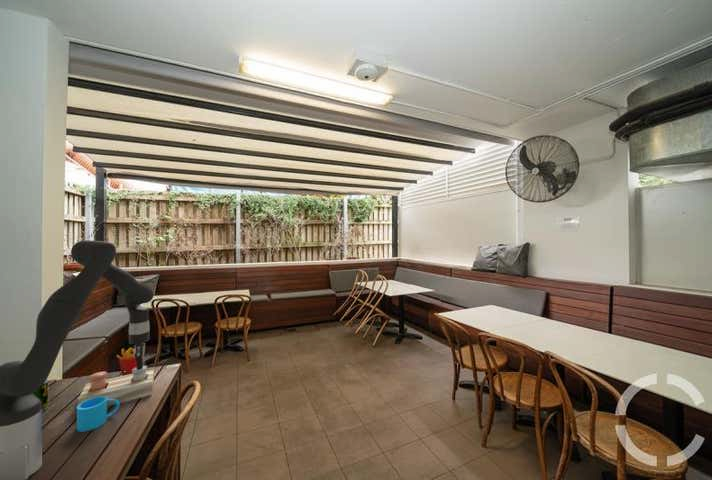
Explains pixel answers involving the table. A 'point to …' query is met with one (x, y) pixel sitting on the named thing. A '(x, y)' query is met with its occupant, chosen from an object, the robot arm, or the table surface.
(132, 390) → the plug console
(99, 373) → the terracotta plug
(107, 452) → the table surface
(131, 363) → the french fries
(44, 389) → the beer can
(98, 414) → the mug
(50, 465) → the table surface
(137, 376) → the grey plug
